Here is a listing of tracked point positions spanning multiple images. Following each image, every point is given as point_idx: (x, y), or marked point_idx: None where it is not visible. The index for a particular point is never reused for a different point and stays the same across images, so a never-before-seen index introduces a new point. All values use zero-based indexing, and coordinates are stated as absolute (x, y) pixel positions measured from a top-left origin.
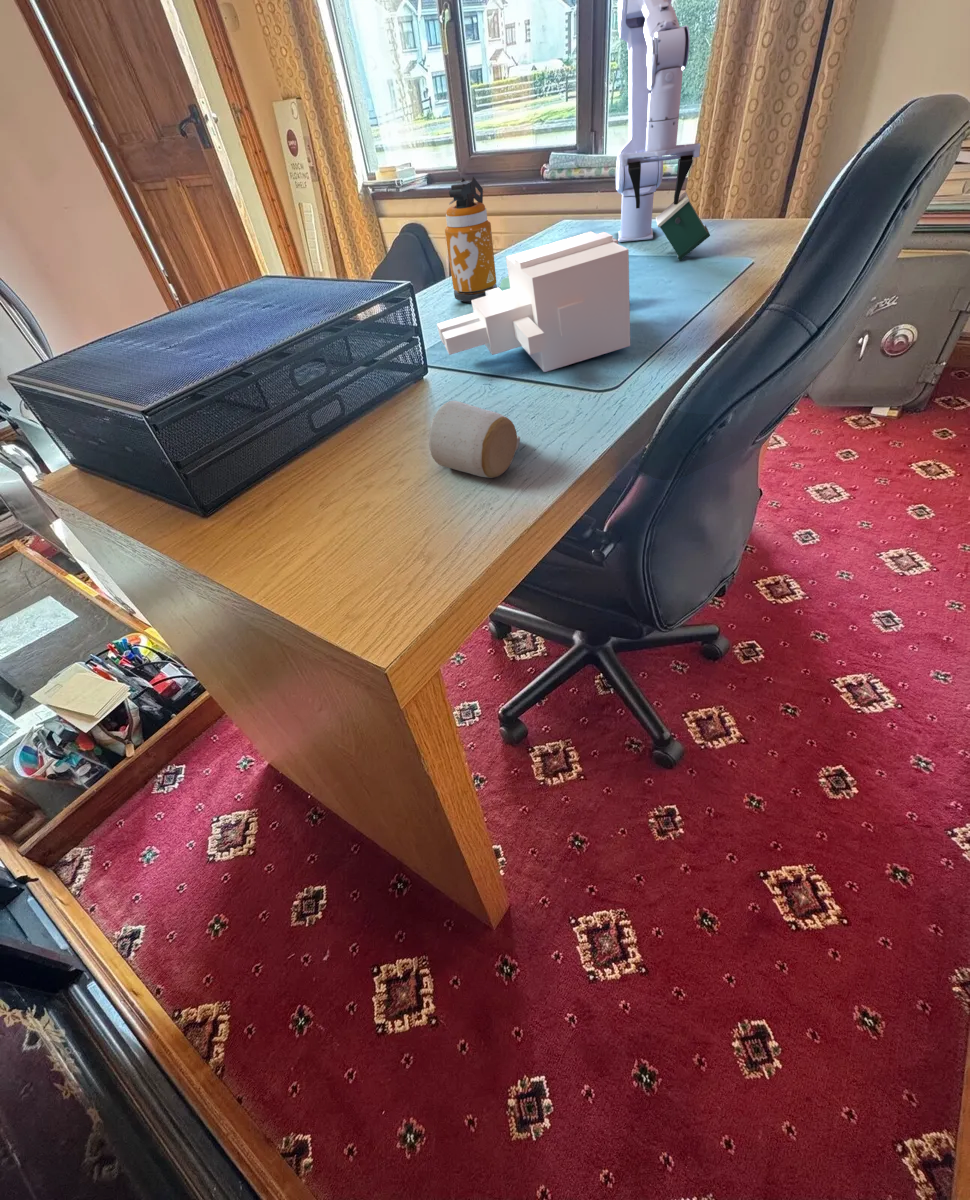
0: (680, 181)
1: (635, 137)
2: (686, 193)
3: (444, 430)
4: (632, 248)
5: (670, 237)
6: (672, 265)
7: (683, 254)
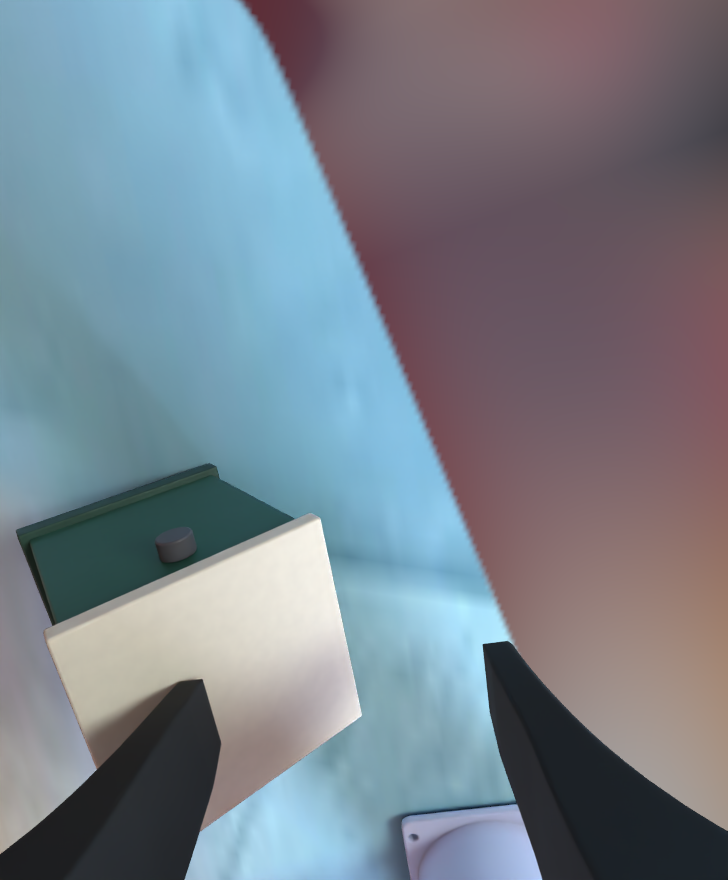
0: (85, 808)
1: None
2: None
3: None
4: (482, 707)
5: (241, 503)
6: (232, 391)
7: (185, 475)
